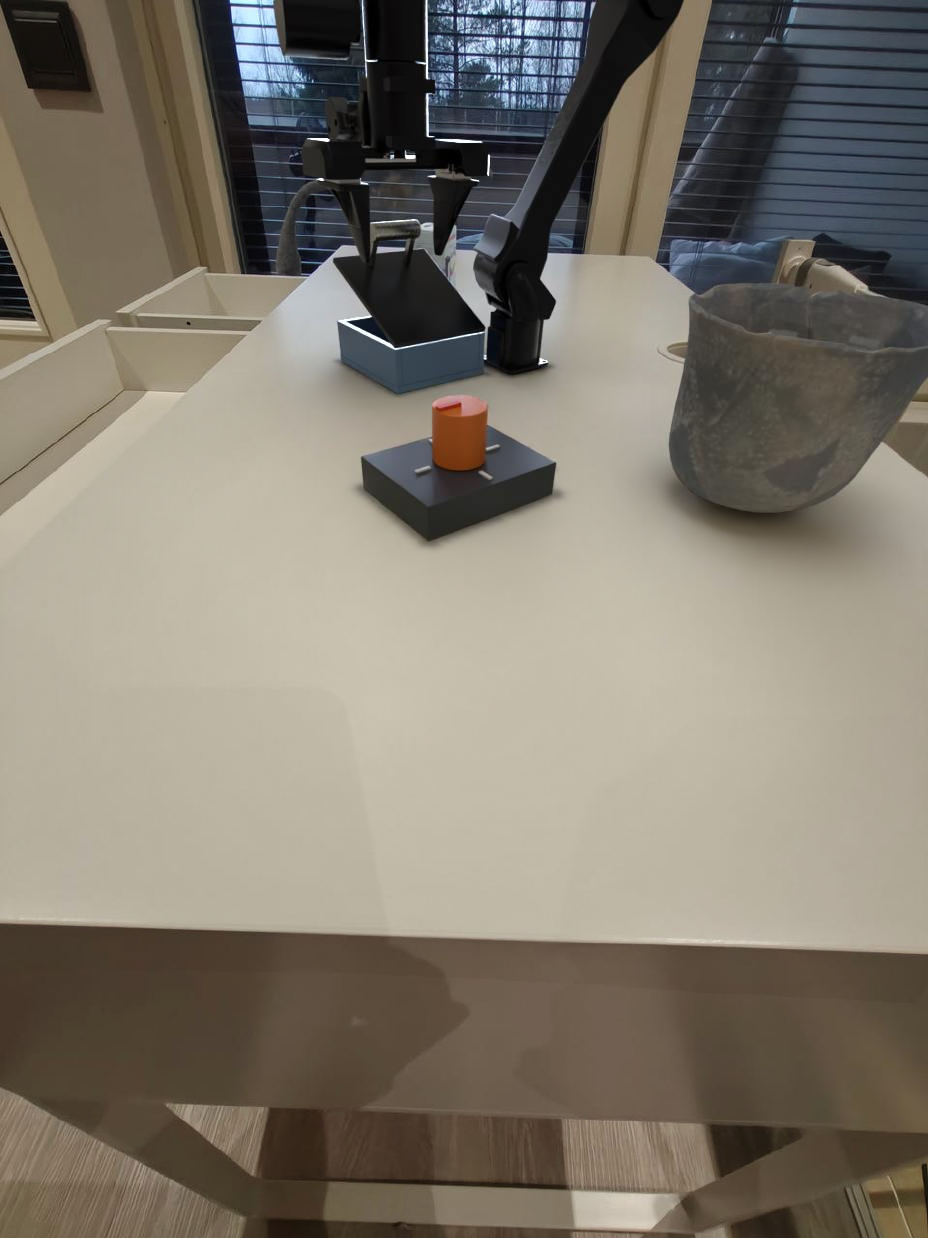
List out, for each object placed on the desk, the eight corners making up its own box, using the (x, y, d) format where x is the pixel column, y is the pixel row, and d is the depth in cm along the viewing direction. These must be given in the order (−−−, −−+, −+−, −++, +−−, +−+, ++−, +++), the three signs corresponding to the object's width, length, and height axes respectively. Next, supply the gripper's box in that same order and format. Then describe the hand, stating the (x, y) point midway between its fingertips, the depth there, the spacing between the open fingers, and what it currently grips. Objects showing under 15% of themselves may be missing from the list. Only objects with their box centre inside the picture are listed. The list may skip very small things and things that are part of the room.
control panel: (481, 451, 57) (482, 419, 55) (552, 494, 51) (557, 460, 49) (363, 488, 51) (360, 454, 49) (428, 541, 45) (427, 505, 43)
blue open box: (341, 361, 76) (336, 320, 73) (422, 345, 82) (421, 307, 79) (397, 393, 68) (395, 349, 65) (483, 373, 74) (485, 332, 71)
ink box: (444, 322, 91) (445, 231, 83) (413, 320, 91) (411, 229, 83) (456, 308, 97) (457, 223, 89) (427, 306, 98) (426, 221, 90)
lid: (332, 262, 68) (337, 214, 64) (423, 252, 74) (433, 208, 70) (394, 348, 65) (404, 304, 60) (484, 331, 71) (499, 290, 66)
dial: (464, 442, 51) (465, 387, 48) (495, 461, 49) (499, 404, 46) (422, 455, 49) (420, 398, 46) (453, 476, 47) (453, 416, 44)
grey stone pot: (761, 441, 61) (823, 275, 51) (911, 530, 48) (1032, 333, 38) (610, 464, 56) (647, 286, 46) (735, 570, 43) (823, 357, 33)
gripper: (434, 70, 64) (434, 240, 74) (266, 58, 55) (293, 252, 65) (497, 68, 57) (487, 256, 67) (316, 55, 48) (337, 271, 59)
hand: (403, 258), depth 65 cm, fingers open, 9 cm apart
